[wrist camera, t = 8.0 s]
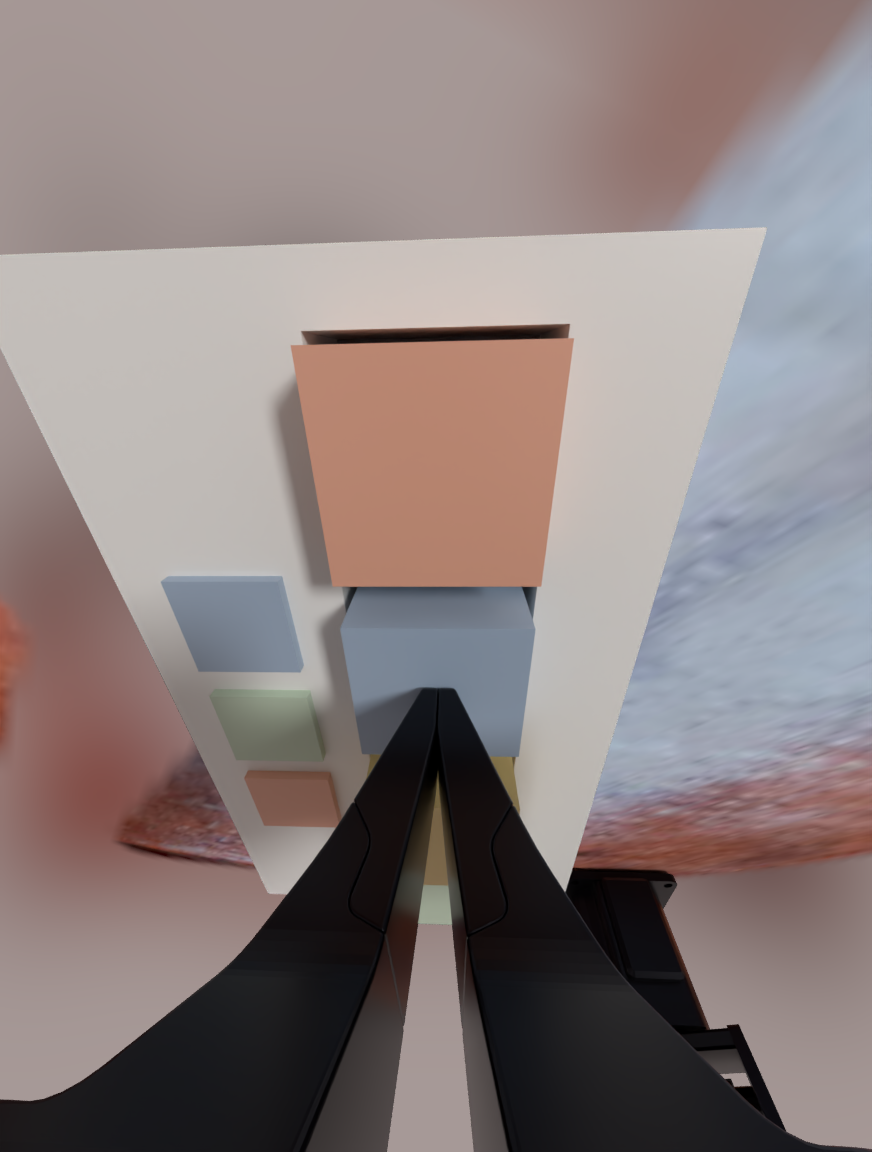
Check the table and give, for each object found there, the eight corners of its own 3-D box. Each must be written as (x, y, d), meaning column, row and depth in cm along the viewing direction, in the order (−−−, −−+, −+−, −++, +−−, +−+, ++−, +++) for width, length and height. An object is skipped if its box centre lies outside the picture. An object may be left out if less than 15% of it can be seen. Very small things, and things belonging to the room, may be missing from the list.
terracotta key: (515, 525, 11) (541, 586, 8) (365, 526, 11) (332, 586, 8) (531, 348, 9) (574, 338, 6) (344, 352, 9) (290, 345, 6)
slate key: (503, 669, 14) (518, 756, 11) (381, 668, 14) (362, 754, 11) (513, 559, 12) (535, 629, 8) (369, 559, 12) (340, 628, 9)
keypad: (545, 822, 21) (563, 911, 18) (295, 816, 21) (265, 901, 18) (660, 274, 9) (781, 221, 6) (112, 291, 10) (-66, 251, 6)
